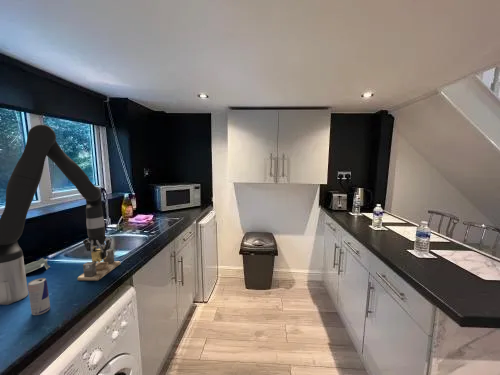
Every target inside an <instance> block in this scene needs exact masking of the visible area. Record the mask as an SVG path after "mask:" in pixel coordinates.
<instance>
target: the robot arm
mask: <svg viewBox="0 0 500 375" xmlns="http://www.w3.org/2000/svg"><path fill="white" fill-rule="evenodd" d="M63 150H64V149H62V148H61V146H60V144H58V141H57V135H56V132H55V131H54V130H53V129H52V127H50V126H49V125H46V124H36V125H33V126H32V127H31V128H30V129H29V131H28V134H27V137H26V142H25V146H24V149H23V152H22V154H21V156H20V158H19V159H18V160H17V163H16V164H15V166H14V168H13V171H12V172H11V174H10V177H9V180H8V182H7V185H6V188H5V189H6V190H5V205H4V208H3V212H2V214H1V216H0V306H2V305H5V306H7V305H11V304H13V303H16V302H18V301H21V300H22V299H25V298H26V297H28V296H29V291H28V282H27V276H26V275H27V273H25V261H24V253H23V250H22V248H21V247H20V245H19V241H18V240H19V239H20V238H21V236H22V235H23V232H24V228H25V224H26V219H27V216H28V213H29V210H30V207H31V204H32V202H33V200H34V196H35V195H36V192H37V190H38V188H39V186H40V185H39V184H40V182H41V179H42V176H43V172H44V166H45V161H46V158H49V159H50V160H51V161H52V162H53V163H54V164H55V166H56V167H57V168H58V169H59V170H60V171H61V173H62V174H63V175H64V176H65V177H66V178H67V179H68V180H69V181H70V182H71V184H72V185H73V186H74V187H75V188H76V189H77V191H78V193H79V194H80V195H81V196H82V197H83V198H84V199H85V204H86V207H85V215H86V231H87V236H88V238H86V239H84V240H82V242H83V245H84V247H85V248H86V251H87V252H90V253H91V252H93V251H96V250H97V247H98V249H100V250H101V257H102V260H103V259H105V258H106V251H107V250H109V249H111V246H112V238H107V237H106V227H105V226H106V225H105V219H104V213H103V206H102V204H103V203H102V202H103V199H102V191H101V188H99V187H98V186H96V185H95V184H94V183H93V182H92V181H91V180H90V178H89V176H88V174H87V173H86V172H85V171H84V170H83V169H82V168H81V166H79V165H78V164H77V163H76V161H74V160H73V159H72V158H70V156H68V154H66V152H65V151H63Z"/></svg>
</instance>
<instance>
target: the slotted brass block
mask: <svg viewBox="0 0 500 375" xmlns="http://www.w3.org/2000/svg"><path fill="white" fill-rule="evenodd" d="M90 253H91V262H92V261H94V260H95V261H96V262H102V261H103V259H102V257H101V250H100V248H96V250H95V251H93V252H91V251H90Z"/></svg>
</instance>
